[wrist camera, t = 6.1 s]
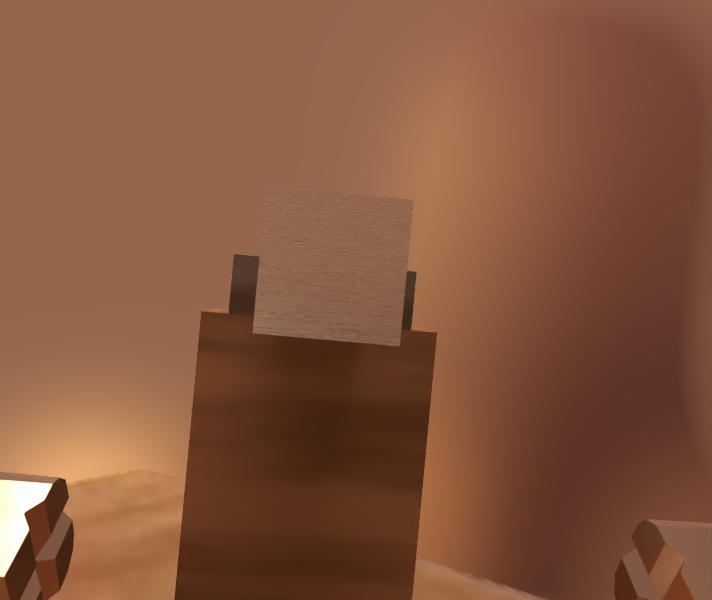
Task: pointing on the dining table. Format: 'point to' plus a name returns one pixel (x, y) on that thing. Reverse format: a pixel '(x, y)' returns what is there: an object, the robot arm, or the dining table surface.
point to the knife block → (303, 460)
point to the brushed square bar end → (332, 266)
